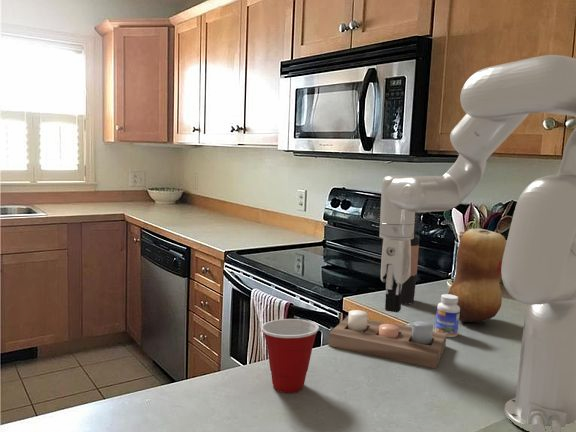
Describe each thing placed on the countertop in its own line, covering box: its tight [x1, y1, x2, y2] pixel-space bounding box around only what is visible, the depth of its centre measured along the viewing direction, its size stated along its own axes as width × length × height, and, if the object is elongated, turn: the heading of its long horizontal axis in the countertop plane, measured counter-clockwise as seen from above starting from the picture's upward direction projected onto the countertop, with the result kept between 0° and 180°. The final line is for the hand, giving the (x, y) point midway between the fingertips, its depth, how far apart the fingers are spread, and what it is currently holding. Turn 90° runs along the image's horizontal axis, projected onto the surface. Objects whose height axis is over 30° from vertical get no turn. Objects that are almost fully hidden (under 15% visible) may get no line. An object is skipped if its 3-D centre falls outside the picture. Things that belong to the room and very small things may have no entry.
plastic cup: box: [260, 318, 320, 394], centre depth 97 cm, size 11×11×12 cm
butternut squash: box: [447, 227, 507, 324], centre depth 138 cm, size 14×13×25 cm
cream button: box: [348, 309, 368, 332], centre depth 122 cm, size 4×4×4 cm
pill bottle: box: [434, 293, 460, 338], centre depth 128 cm, size 5×5×10 cm
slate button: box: [411, 321, 434, 345], centre depth 116 cm, size 4×4×4 cm
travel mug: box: [399, 233, 420, 305], centre depth 154 cm, size 8×8×20 cm
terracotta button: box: [379, 323, 399, 339], centre depth 119 cm, size 4×4×4 cm
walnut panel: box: [328, 315, 447, 369], centre depth 119 cm, size 14×24×3 cm, turn 65°
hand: (392, 310), depth 117 cm, fingers closed
